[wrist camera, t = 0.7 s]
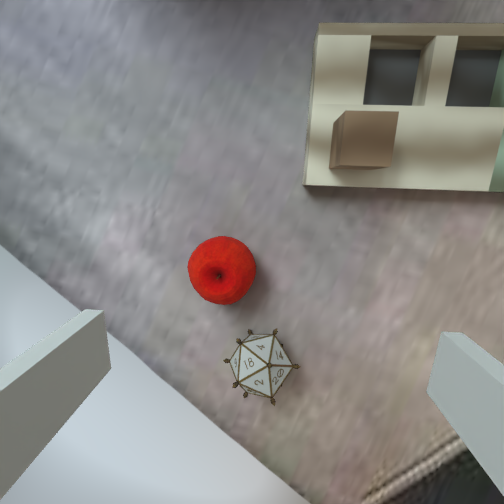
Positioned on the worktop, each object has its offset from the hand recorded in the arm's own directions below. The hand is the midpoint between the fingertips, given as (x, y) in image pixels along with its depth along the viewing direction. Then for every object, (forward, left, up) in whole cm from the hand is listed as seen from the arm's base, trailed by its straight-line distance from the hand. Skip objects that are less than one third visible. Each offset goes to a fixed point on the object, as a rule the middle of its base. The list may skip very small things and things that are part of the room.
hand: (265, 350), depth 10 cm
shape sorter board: (-14, +16, -24) cm, 32 cm away
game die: (+15, 0, -24) cm, 28 cm away
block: (-11, +8, -21) cm, 25 cm away
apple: (+3, -5, -24) cm, 25 cm away
